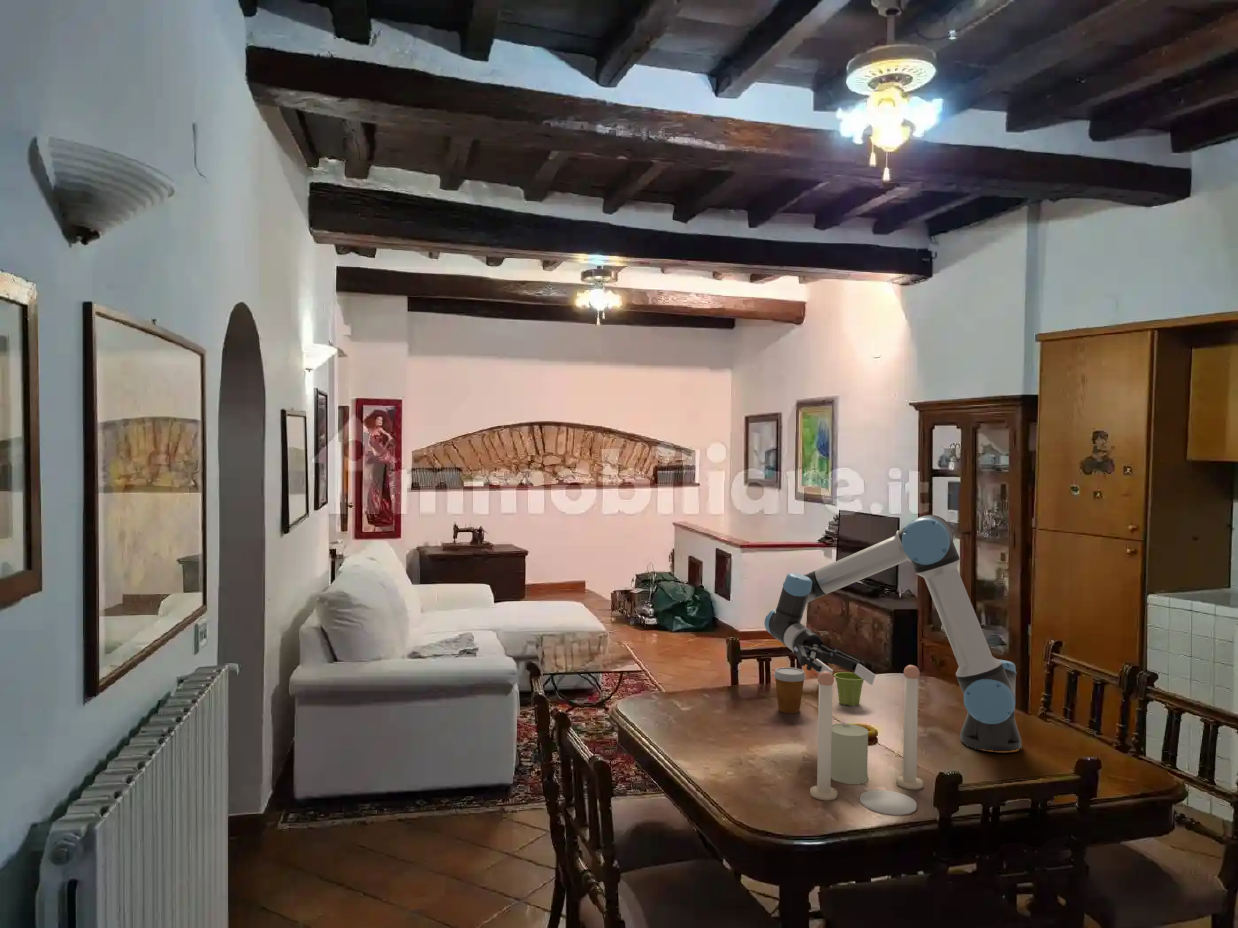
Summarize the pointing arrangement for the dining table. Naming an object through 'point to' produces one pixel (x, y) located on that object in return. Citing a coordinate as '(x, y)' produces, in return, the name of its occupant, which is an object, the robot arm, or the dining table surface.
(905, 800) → the coaster
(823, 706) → the gate
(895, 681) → the dining table surface
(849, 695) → the plant pot
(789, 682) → the disposable coffee cup
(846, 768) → the can
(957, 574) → the robot arm
